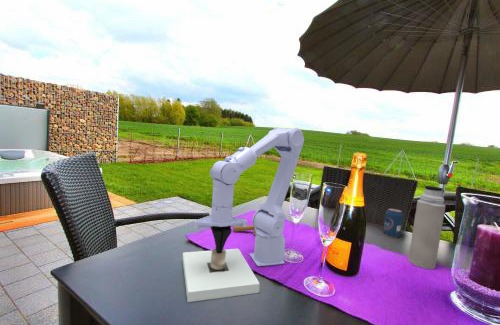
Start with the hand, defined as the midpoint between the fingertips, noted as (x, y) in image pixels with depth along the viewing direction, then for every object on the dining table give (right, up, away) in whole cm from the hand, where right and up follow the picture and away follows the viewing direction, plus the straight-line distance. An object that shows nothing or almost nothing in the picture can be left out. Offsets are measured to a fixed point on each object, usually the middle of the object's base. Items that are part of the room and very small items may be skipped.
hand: (218, 251), depth 69 cm
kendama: (+11, -5, +34) cm, 36 cm away
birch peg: (-1, -7, +1) cm, 7 cm away
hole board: (-1, -7, +1) cm, 7 cm away
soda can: (+75, -9, +46) cm, 88 cm away
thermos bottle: (+70, -11, +19) cm, 74 cm away
